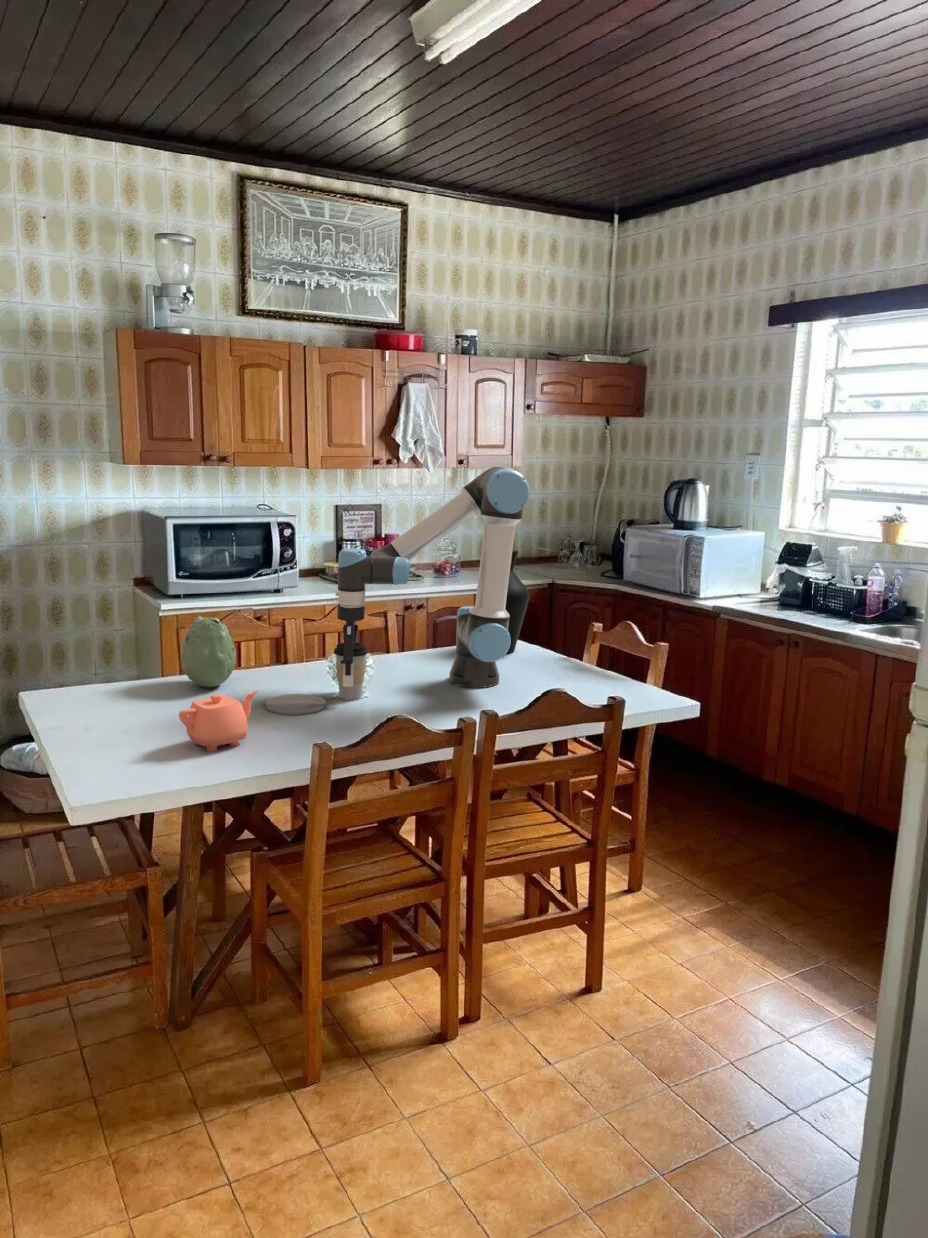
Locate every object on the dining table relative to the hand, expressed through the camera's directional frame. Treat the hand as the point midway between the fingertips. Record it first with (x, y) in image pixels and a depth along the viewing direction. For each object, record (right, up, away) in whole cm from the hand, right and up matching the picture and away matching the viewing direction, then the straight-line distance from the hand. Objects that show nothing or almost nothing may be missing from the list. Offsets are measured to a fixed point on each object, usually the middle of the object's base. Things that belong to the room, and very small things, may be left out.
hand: (349, 679), depth 257 cm
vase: (+45, +6, +60) cm, 76 cm away
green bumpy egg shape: (-41, -3, +8) cm, 42 cm away
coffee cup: (0, -5, +1) cm, 5 cm away
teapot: (-26, -13, -38) cm, 48 cm away
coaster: (-13, -7, -8) cm, 17 cm away
